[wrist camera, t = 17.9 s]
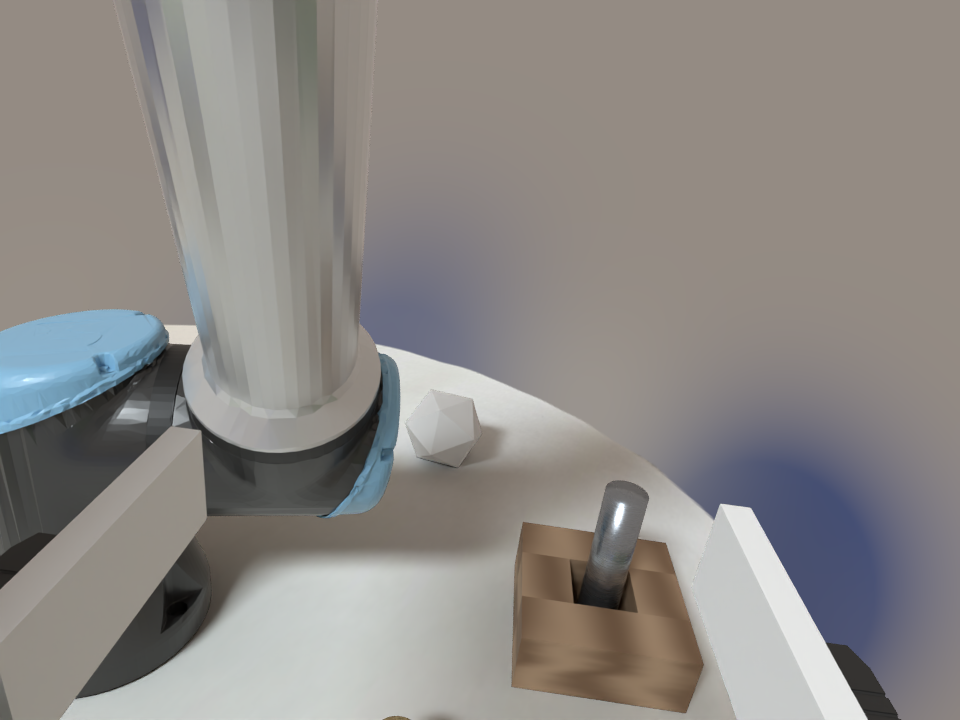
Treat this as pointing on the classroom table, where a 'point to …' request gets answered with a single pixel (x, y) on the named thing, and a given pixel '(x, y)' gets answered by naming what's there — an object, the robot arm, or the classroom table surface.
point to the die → (444, 428)
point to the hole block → (601, 625)
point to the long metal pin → (613, 544)
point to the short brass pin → (396, 718)
